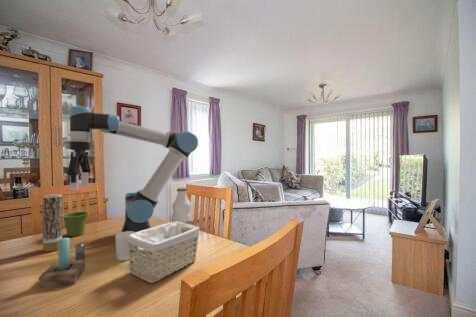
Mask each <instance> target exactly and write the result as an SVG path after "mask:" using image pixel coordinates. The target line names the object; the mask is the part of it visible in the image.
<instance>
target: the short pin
mask: <svg viewBox="0 0 476 317" xmlns="http://www.w3.org/2000/svg"><path fill="white" fill-rule="evenodd" d="M83 259H85V260H86V243H84V242H80V243H77V244H75V259H74V261H75V260H83Z"/></svg>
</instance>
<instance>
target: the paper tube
mask: <svg viewBox="0 0 476 317" xmlns="http://www.w3.org/2000/svg"><path fill="white" fill-rule="evenodd" d="M42 198H43V199H42V202H43V203H42V207H43V208H42V251H43V252H46V253H48V252H55V251H58V240H59V239H62V238H63V217H62V215H63V194H62V193H53V194H51V193H50V194H46V195H43V196H42Z"/></svg>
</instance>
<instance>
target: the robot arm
mask: <svg viewBox="0 0 476 317" xmlns="http://www.w3.org/2000/svg"><path fill="white" fill-rule="evenodd" d="M69 111H70V112H69V133H68V136H69V140H70V141H69V149H70V151H71V150H72V151H71V152H70V159H69V160H70V161H69V164H68V167H67V173H66V176H69V191H79V174H78V173H79V169H81V174H80V175H81V176H80V178H81V183H80V184H81V185H80V186H81V187H88V186H89V173H91V172H92V171H91V167H90V162H89V160H90V159H89V152H88V151H90V150H91V143H90V141H91V130H99V131H101V132H102V133H105V134H113V135H116V136H117V135H118V136H122V137H126V138H130V139H134V140H139V141H144V142H147V143H152V144H155V145H161V146H162V147H163V148H165V149H168V152H167V154H166V155H165V157H164V158H163V160H162V161H161V163H160V164H159V165H158V167H157V169H156V170H155V171H154V173H153V174H152V175H151V177H150V179H149V180H148V181H147V182H146V184H145V186H144V187H143V189H140V190H137V191H135V192H126V194H125V197H124V200H125V202H124V203H125V204H124V206H125V208H124V211H125V212H124V223H123V226H122V227H121V231H120V233H121V232H126V231H133V232H135V233H136V232H138V231H142V230H145V229H149V228H152V227H151V224H150V221H149V220H150V219H151V218H152V216H153V214H154V211H155V210H154V209H155V207H156V206H157V204H158V203H159V197H160V195H161V193H162V191H163V190H164V188H165V187H166V186H167V184H168V182H169V181H170V179H171V178H172V177H173V175H174V174H175V172H176V170H177V169H178V168H179V167H180V164H181V163H182V161H184V160H187V159H188V158H189V156H190V155H191V153H193V152H194V151H196V149H197V148H198V146H199V140H198V137H197V135H196V134H195V133H194V132H193V131H190V130H183V131H180V132H170V131H167V132H164V131H160V130H156V129H152V128H148V127H144V126H142V125H141V126H140V125H136V124H132V123H130V122H129V123H128V122H126V121H125V122H124V121H120V116H119V115H116V114H111V113H98V112H96V113H95V112H92V111H91V109H90V108H89V107H85V106H77V105H76V106H75V105H74V106H71V107H70V110H69Z"/></svg>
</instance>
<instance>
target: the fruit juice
mask: <svg viewBox="0 0 476 317" xmlns="http://www.w3.org/2000/svg"><path fill="white" fill-rule="evenodd" d="M176 192H177V194H176V197H175V199H174V201H173V203H172V205H171V206H172V207H171V208H172V216H171V222H176V221H177V222H181V223H185V224H189V225H192V214H191V209H192V203H191V201H190V200H189V198H188V194H187V192H188V188H187V187H177V188H176ZM184 232H187V231H186V230H182V229H181V234H182V233H184Z"/></svg>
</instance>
